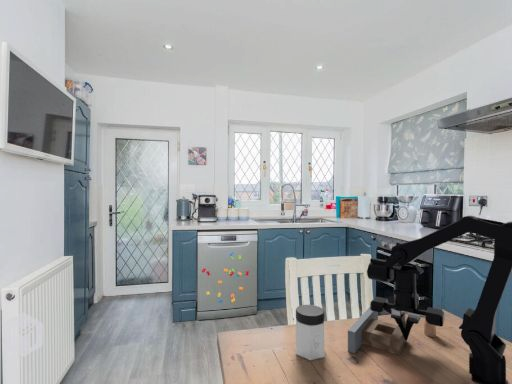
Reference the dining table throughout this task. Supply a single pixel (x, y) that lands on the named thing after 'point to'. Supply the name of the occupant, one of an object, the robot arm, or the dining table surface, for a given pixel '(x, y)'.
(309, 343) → the jar
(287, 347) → the dining table surface
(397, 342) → the block
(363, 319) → the bar
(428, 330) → the dowel
